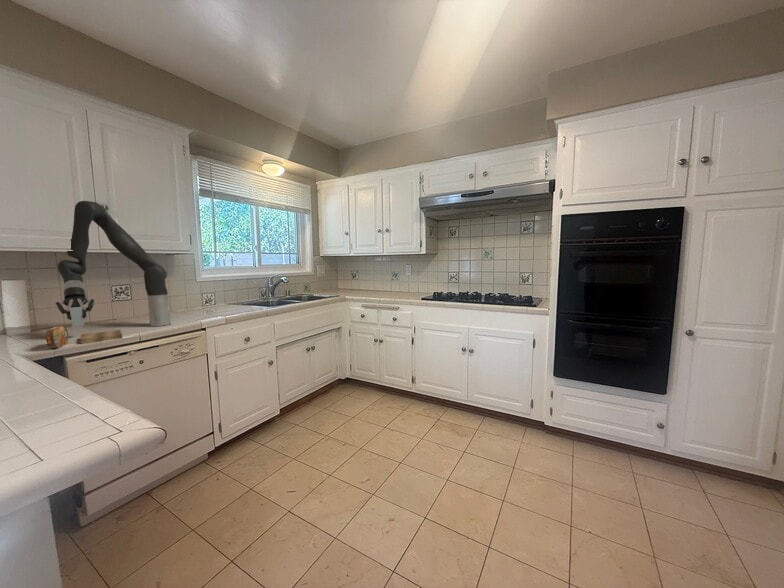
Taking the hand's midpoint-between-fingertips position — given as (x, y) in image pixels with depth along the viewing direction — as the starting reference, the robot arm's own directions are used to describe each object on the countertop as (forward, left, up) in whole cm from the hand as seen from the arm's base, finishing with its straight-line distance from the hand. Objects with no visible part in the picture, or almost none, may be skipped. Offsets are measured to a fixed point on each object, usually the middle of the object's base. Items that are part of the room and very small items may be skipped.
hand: (77, 318), depth 153 cm
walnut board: (-8, +11, -9) cm, 16 cm away
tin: (+6, +16, -10) cm, 20 cm away
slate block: (0, -2, -4) cm, 5 cm away
